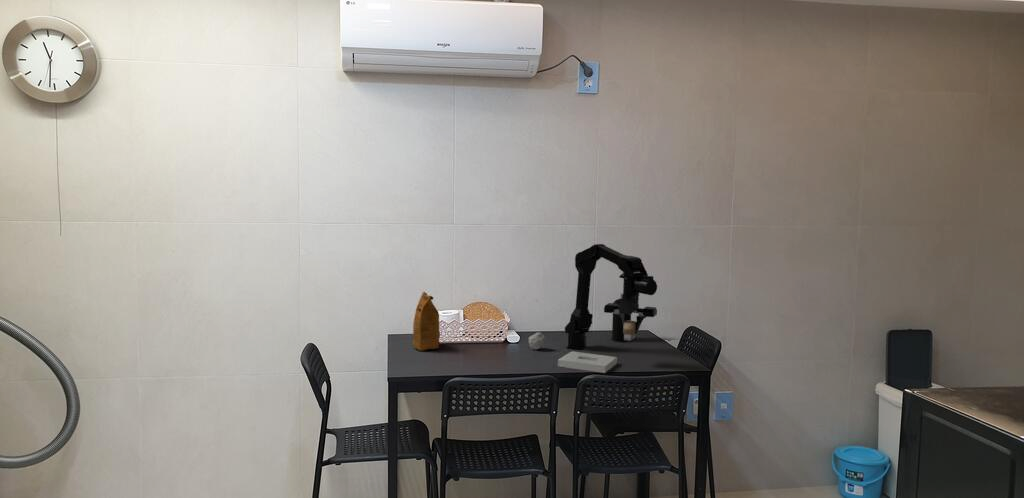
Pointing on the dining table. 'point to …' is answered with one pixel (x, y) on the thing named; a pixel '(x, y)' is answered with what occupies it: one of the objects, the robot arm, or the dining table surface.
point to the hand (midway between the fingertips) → (629, 332)
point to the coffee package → (426, 324)
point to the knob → (629, 330)
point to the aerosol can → (616, 329)
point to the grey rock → (536, 340)
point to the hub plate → (587, 362)
